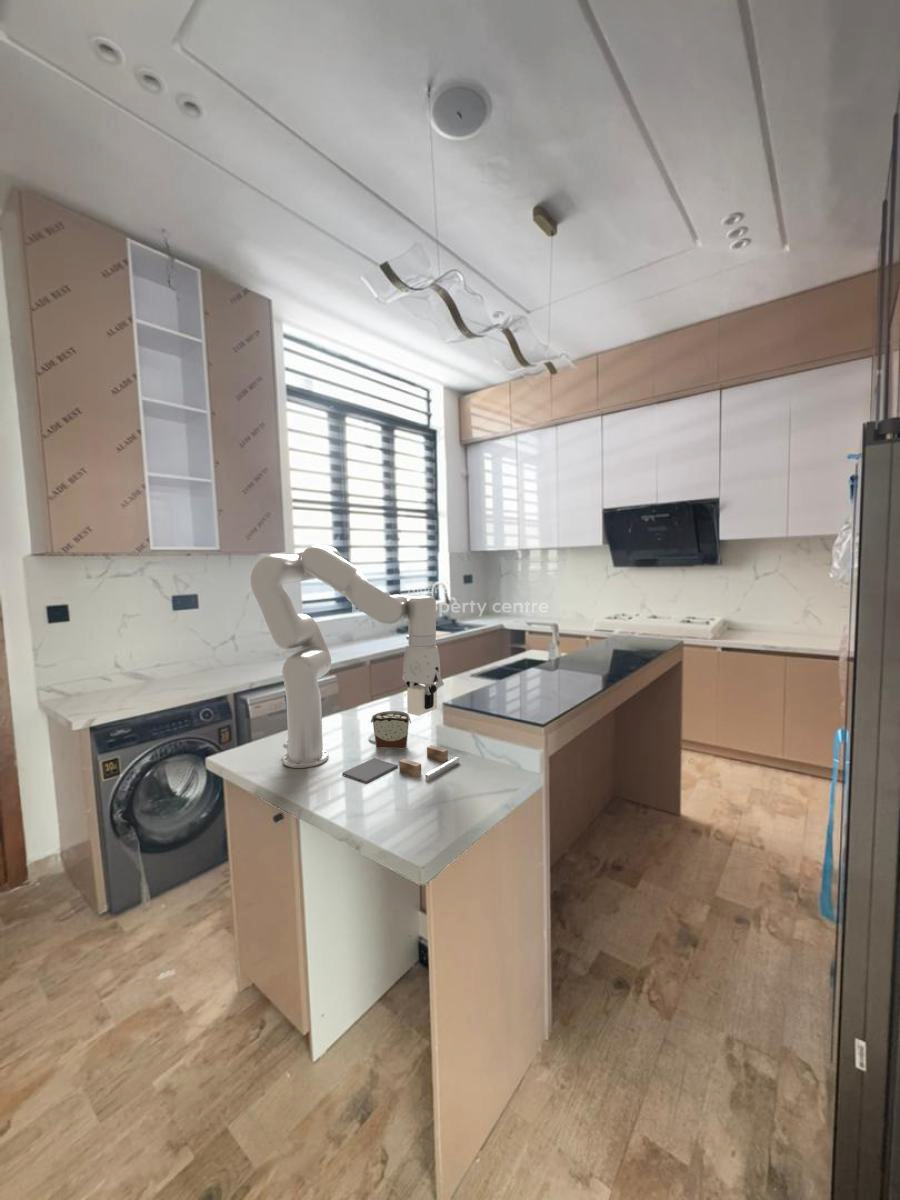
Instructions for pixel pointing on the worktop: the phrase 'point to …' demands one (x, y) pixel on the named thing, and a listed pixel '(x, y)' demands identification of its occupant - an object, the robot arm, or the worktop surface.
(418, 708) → the cream cuboid
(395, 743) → the food container
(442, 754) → the blocks
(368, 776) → the mat
